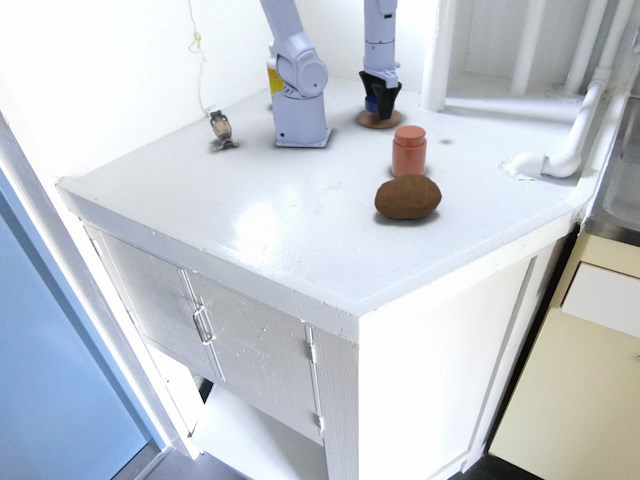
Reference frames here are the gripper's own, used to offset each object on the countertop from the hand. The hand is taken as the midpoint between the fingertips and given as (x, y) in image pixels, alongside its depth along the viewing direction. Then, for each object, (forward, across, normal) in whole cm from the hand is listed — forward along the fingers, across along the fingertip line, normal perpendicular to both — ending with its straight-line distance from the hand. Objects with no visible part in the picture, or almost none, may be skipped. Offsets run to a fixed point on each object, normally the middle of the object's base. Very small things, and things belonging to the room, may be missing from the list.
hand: (379, 113), depth 96 cm
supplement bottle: (+2, +14, +16) cm, 22 cm away
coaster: (+1, 0, 0) cm, 1 cm away
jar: (+1, -23, +3) cm, 23 cm away
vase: (+2, 0, +32) cm, 32 cm away
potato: (+2, -35, +8) cm, 36 cm away
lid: (-3, 0, 0) cm, 3 cm away
